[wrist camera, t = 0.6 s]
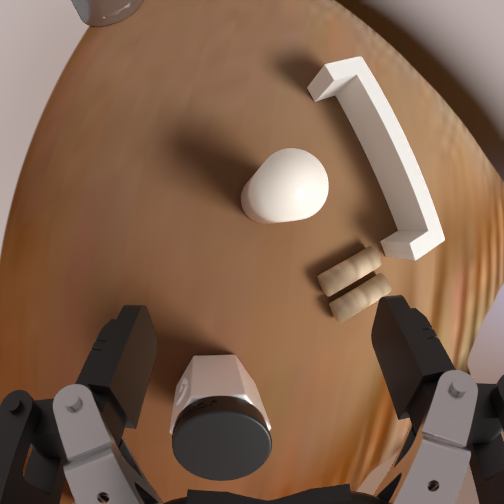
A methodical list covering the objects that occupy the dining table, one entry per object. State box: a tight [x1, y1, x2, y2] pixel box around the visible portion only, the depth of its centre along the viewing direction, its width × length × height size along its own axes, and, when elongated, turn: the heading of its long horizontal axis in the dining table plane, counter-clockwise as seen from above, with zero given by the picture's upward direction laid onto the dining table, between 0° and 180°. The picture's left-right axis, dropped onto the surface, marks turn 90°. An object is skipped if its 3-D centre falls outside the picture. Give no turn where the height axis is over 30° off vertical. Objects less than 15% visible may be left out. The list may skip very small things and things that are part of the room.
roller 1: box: [317, 246, 381, 297], centre depth 33 cm, size 3×7×3 cm, turn 116°
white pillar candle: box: [241, 148, 329, 224], centre depth 27 cm, size 5×5×11 cm
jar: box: [170, 354, 272, 481], centre depth 27 cm, size 9×8×12 cm
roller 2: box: [329, 273, 391, 323], centre depth 34 cm, size 3×7×3 cm, turn 115°
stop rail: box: [307, 56, 445, 261], centre depth 31 cm, size 22×5×6 cm, turn 26°
